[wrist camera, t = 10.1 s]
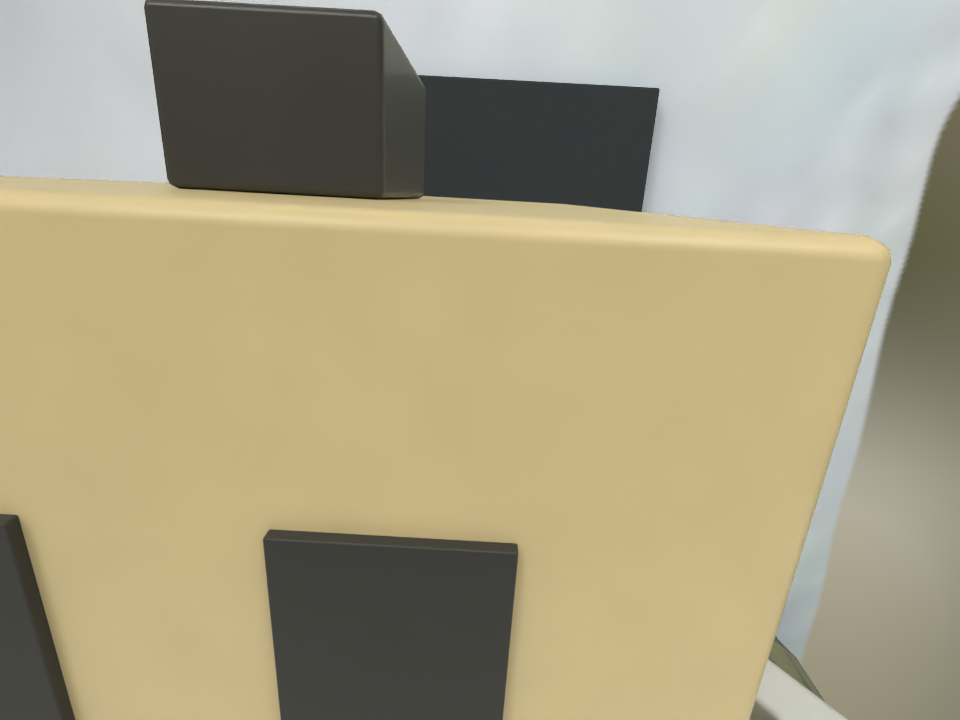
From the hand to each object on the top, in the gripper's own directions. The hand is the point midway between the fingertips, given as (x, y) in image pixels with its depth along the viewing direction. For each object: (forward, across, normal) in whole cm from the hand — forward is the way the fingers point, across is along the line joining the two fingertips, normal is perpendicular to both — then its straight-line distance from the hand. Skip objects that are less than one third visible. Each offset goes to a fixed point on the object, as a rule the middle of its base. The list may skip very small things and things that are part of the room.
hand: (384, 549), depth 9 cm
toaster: (+4, 0, 0) cm, 4 cm away
